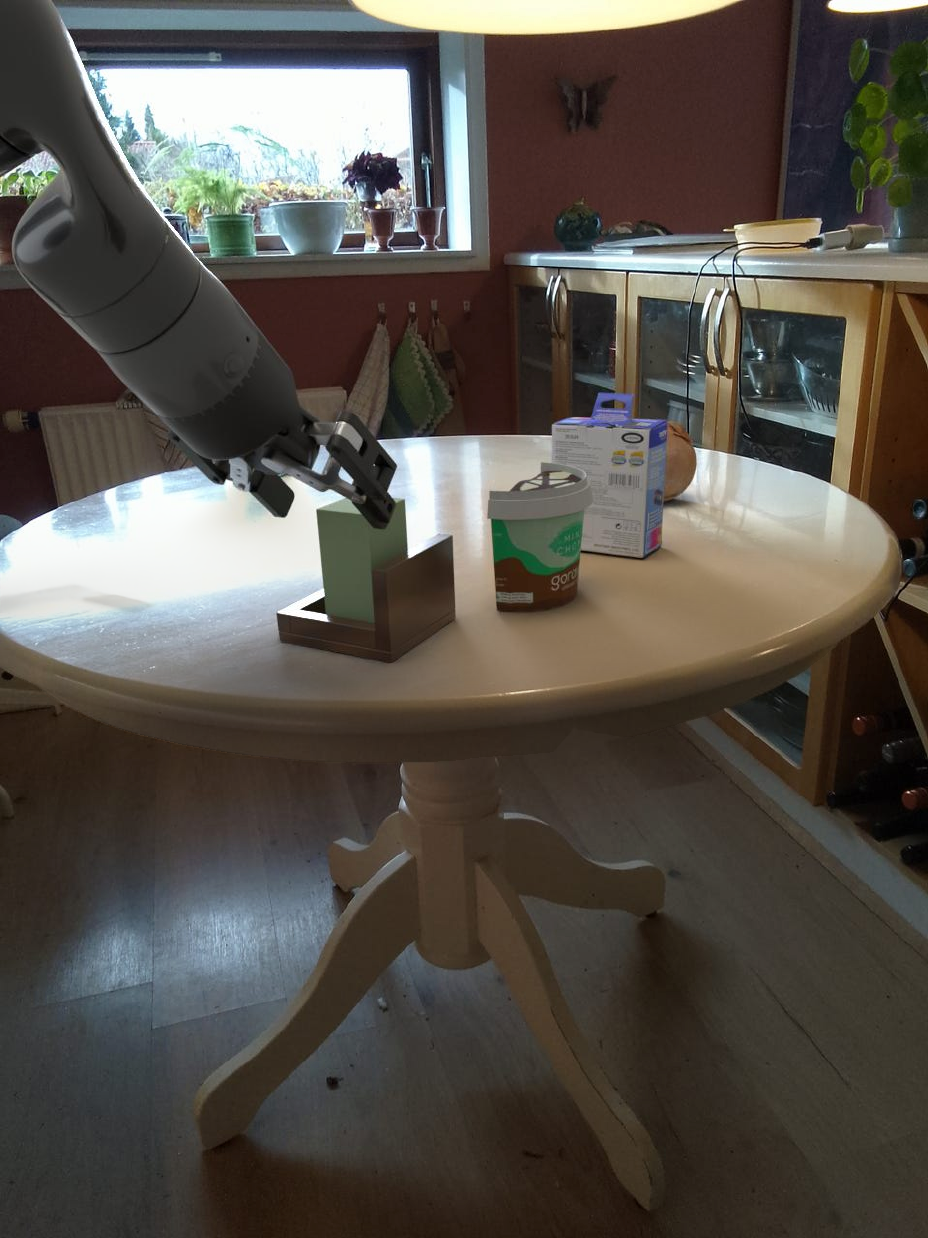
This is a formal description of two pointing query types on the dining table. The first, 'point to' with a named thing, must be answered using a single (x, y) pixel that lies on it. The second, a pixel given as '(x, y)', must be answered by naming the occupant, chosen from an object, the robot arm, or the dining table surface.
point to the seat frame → (383, 607)
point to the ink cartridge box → (617, 475)
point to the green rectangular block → (355, 556)
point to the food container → (539, 538)
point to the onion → (678, 461)
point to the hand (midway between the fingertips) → (334, 512)
